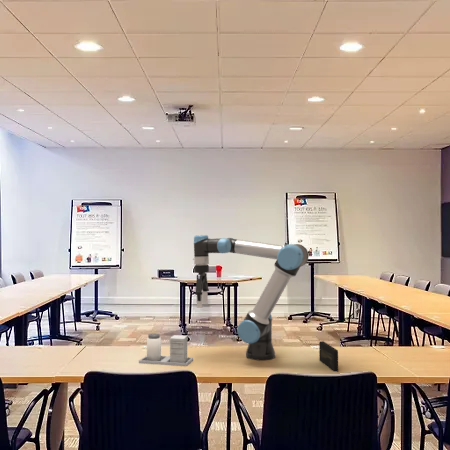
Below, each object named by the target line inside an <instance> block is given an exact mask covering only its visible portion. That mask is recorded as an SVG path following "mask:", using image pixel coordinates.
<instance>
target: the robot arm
mask: <svg viewBox="0 0 450 450" xmlns="http://www.w3.org/2000/svg"><path fill="white" fill-rule="evenodd" d="M228 253H232V254H238V255H246V256H252V257H258V258H259V257H260V258H265V259H271V260H276V261H275V262H274V264H273V266H274V271H273V272H272V274H271V275H270V278H269V280H268V282H267V284H266V286H265V287H264V289H263V291H262V292H261V294H260V296H259V298H258V300H257V302H256V303H255V305H254V307H253V309H251V310H248V312H247V314H246V315H245V317H244V319H243V320H241V321H240V322H239V323H238V326H237V329H236V331H237V334H238V337H239V339H240V340H241V341H243V342H244V343H245V344H248V345H247V348H246V351H245V357H246V358H247V359H248V360H249V359H250V360H254V361H255V360H256V361H267V360H272V359H275V357H276V352H275V348H274V345H273V342H272V341H273V340H272V337H273V336H272V334H273V333H272V332H273V331H272V327H273V325H272V324H273V323H272V321H273V317H272V313H273V310H274V309H275V307H276V305H277V303H278V301H279V300H280V297H281V296H282V294H283V293H284V291H285V289H286V288H287V286H288V283H289V282H290V281H291V278H293V277H296V276H297V274H298V272H299V270H300V268H301V267H304V266H305V265H306V264H307V262H308V260H309V257H310V256H309V251H308V249H307V248H306V247H305V246H304V245H302V244H299V243H293V244H292V243H289V244H288V243H284V244H283V245H281V244H273V243H269V242H268V243H266V242H261V241H260V242H258V241H251V240H243V239H237V238H232V237H227V238H225V237H223V238H209V236H208V235H207V234H199V235H194V237H193V254H194V255H193V256H194V258H193V259H192V260H193V261H194V267H193V269H194V273H198V274H196V282H195V292H194V295H196V308H203V304H204V305H207V304H209V303H208V302H209V301H208V298H209V297H208V292H210V289H209V284H208V276H207V274H208V273H209V271H210V266H209V264H210V262H209V261H210V258H209V254H228Z"/></svg>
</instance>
